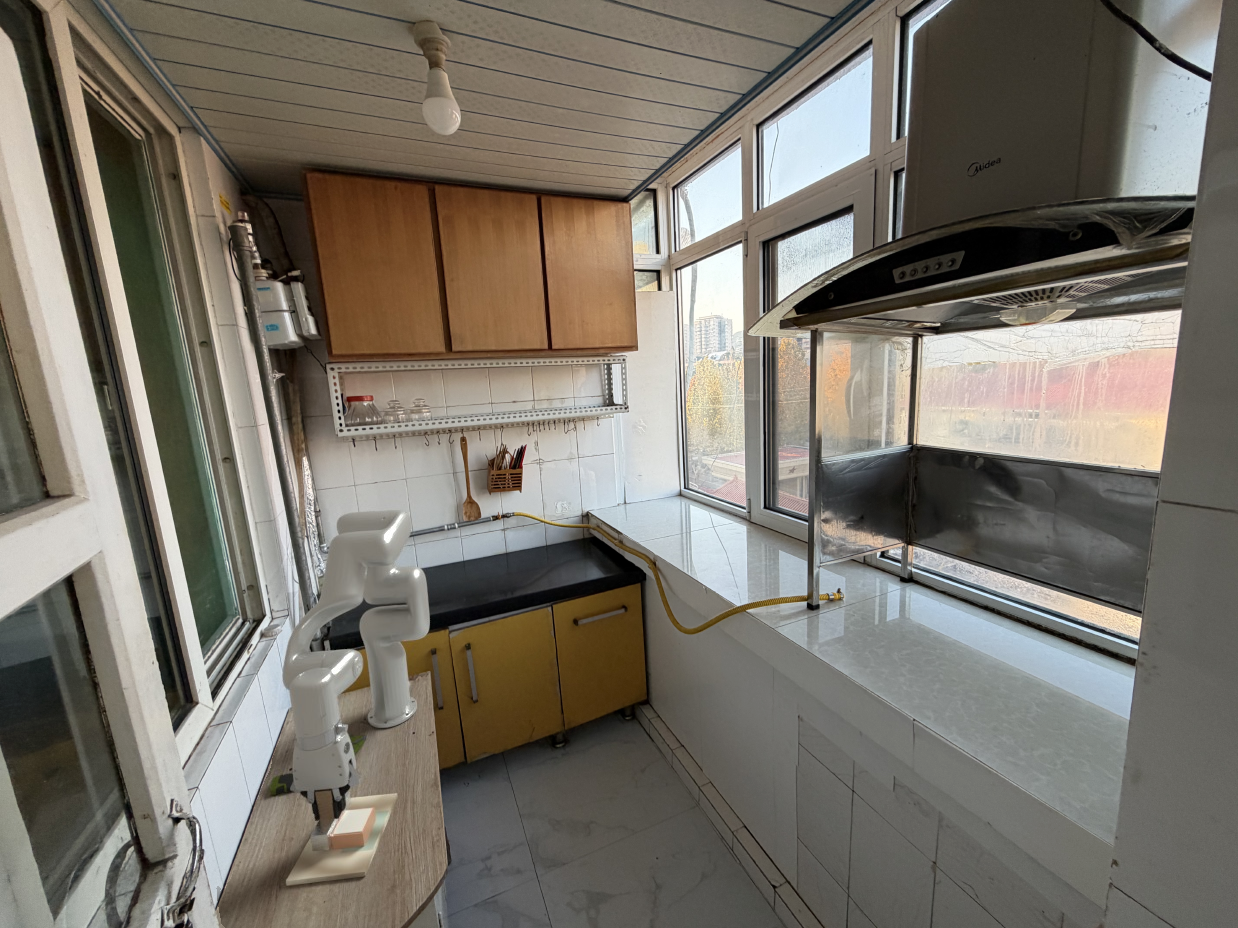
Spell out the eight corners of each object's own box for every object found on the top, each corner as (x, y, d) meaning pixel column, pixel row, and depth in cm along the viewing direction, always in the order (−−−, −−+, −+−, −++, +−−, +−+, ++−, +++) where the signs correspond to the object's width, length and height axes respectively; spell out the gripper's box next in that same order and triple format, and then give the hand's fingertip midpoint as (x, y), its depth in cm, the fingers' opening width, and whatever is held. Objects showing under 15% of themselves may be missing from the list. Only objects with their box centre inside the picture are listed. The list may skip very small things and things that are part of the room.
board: (332, 803, 108) (331, 799, 108) (397, 796, 110) (397, 792, 110) (286, 885, 91) (285, 880, 90) (365, 875, 92) (364, 871, 92)
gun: (313, 741, 129) (370, 740, 129) (261, 800, 110) (329, 799, 110) (312, 732, 128) (369, 731, 129) (260, 790, 110) (328, 789, 110)
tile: (346, 822, 102) (344, 809, 102) (376, 819, 103) (374, 806, 102) (332, 849, 96) (330, 835, 96) (364, 845, 97) (362, 832, 96)
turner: (336, 806, 105) (330, 765, 103) (351, 805, 105) (345, 764, 103) (312, 851, 95) (305, 807, 93) (328, 849, 95) (322, 805, 93)
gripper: (370, 716, 100) (379, 794, 103) (286, 723, 99) (297, 802, 102) (354, 742, 93) (364, 825, 96) (263, 750, 91) (276, 834, 94)
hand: (330, 812), depth 99 cm, fingers closed on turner, 3 cm apart
